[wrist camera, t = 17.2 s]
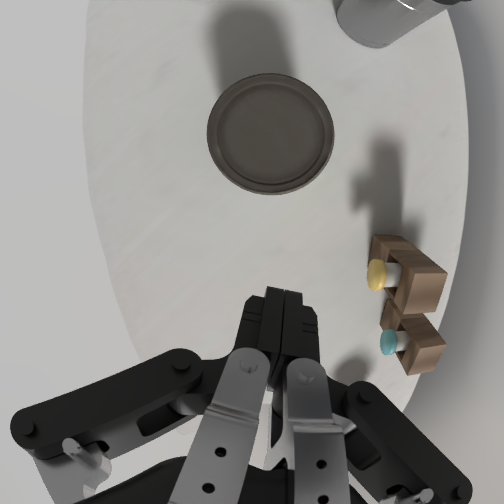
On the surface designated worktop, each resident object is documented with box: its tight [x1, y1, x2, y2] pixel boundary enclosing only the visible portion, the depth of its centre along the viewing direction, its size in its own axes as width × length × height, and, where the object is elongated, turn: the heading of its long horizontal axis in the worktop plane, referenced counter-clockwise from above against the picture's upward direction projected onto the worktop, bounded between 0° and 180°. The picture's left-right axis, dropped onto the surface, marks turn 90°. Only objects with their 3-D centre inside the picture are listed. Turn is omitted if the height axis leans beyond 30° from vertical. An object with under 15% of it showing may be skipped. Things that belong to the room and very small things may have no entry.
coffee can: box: [207, 73, 334, 195], centre depth 27 cm, size 10×10×14 cm
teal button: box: [380, 329, 411, 355], centre depth 35 cm, size 4×7×4 cm, turn 89°
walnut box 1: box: [368, 235, 448, 314], centre depth 32 cm, size 5×5×13 cm
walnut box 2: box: [380, 299, 447, 376], centre depth 36 cm, size 5×5×13 cm
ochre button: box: [367, 259, 403, 291], centre depth 31 cm, size 4×7×4 cm, turn 89°
